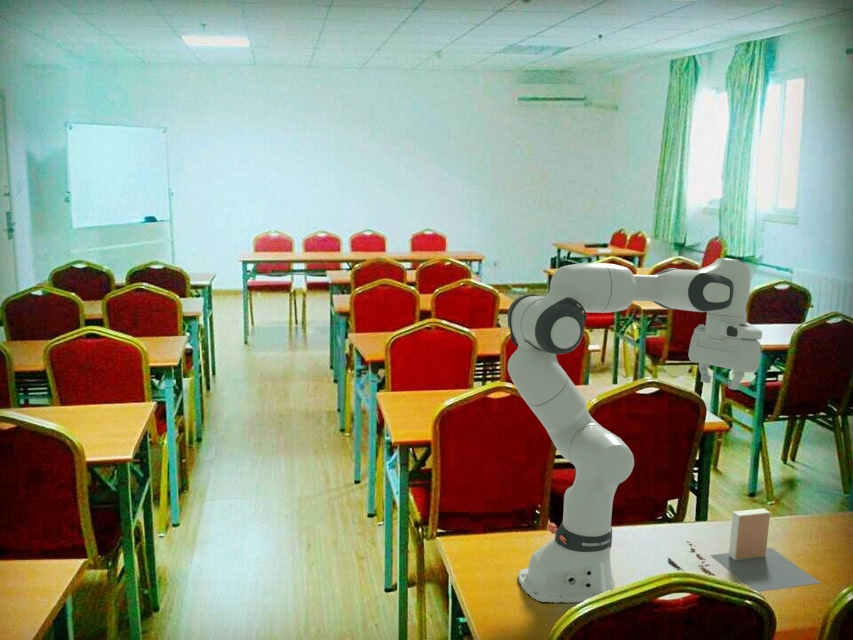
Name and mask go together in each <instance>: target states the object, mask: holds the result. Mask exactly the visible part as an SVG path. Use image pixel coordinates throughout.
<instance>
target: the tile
mask: <svg viewBox="0 0 853 640" xmlns="http://www.w3.org/2000/svg"><path fill="white" fill-rule="evenodd" d="M770 517H771V511H768V510H767V509H766V508H764V507H763V508H755V509H746V510H745V509H744V510H736V511H735V510H734V511H732V520H731V529H730V539H729V541H730V542H729V548H728V549H729V550H728V553H729V556H730V557H731V558H732V559H734V560H740V559H749V558H757V557H765V556H766V548H767V545H768V536H769V528H770V527H769V526H770V519H771V518H770Z"/></svg>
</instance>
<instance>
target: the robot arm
mask: <svg viewBox="0 0 853 640" xmlns="http://www.w3.org/2000/svg"><path fill="white" fill-rule="evenodd" d="M549 283H550V285H549V291H548V293H547V294H546V295H545V296H542V295H538V294H525V295H522V296H521V295H520V296H518V297H517V298H516V299H514V301H512V303H510V306H509V308H508V310H507V317H506V318H507V323H508V327H509V328H508V329H509V331H510V340H511V342H512V344H513V345H514V346H516V347H517V348H516V349H515V351H514V352H513V353H512V354H511V355H510V358H509V359H508V362H507V371H508V372H507V373H508V374H509V376H510V379H511V381H512V383H513V385H514V387H515V388H516V390H517V392H518V393H519V395H520V396H521V398H522V399H523V401H525V403H526V405H527V406H528V407H529V409H530V410H531V411H532V412H533V414H534V415H535V416H536V417H537V419H538V420H539V421H540V423H541V424H542V426H543V427H544V428H545V430H546V432H547V434H548V436H549V437H550V439H551V441H552V443H553V445H554V446H555V448H556V450H557V451H558V452H559V454H560V455H561V457H563V458H564V459H565V460H566V461H568V462H569V463H570V464H572V465H573V466H574V467H575V468H574V469H575V479H574V481H573V484H572V485H571V486H569V487H567V489H566V490H565V493H564V495H563V511H562V512H563V514H562V521H561V523H560V525H559V527H558V526H557V525H556V524H555V523H554V522H550V523H548V525H547V530H548V531H549V532H550V533H551V534H553V535H554V534H555V535H554V536H555V537H553V538H552V539H551V540H550V541H548V542H547V543H546V544H545V545H543V546H541V547H540V548H539V549H538V550H535V552H533V553H532V555H531V557H530V559H529V563H528V567H527V568H522V569H521V570H519V573H518V577H519V578H518V582H520V583H519V585H520V584H521V585H520V586H521V588H522V590H523V591H524V590H525V591H524V592H525V593H526V594H527V595H528V594H529V595H530V596H531V597H530V596H529V595H528V596H529V597H530V598H531V599H533V598H534V599H533V600H535V599H536V600H535V601H537V600H538V601H537V602H539V601H541V602H550V603H549V604H552V603H551V602H554V603H555V604H557V603H558V602H559V603H560V602H561V603H562V602H564V603H583V602H582V601H584V600H586V599H588V598H591V597H593V596H595V595H598V594H600V593H603V592H605V591H608V590H610V589H612V590H613V589H614V587H615V581H614V577H613V572H612V564H611V563H612V562H611V548H612V543H613V542H612V541H613V528H612V526H611V525H612V513H613V502H614V497H615V495H616V491H617V488H618V487H619V485H620V484H622V483H623V482H625V481H626V480H627V479H628V478H629V476H630V475H631V474H632V472H633V469H634V467H635V458H634V454H633V452H632V451H631V449H630V448H629V446H628V445H627V444H626V443H625V442H624V441H623V440H622V438H621V437H619V436H617V435H616V434H614V433H613V432H611V431H609V430H608V429H606V428H604V427H603V426H602V425H601V424H599V422H597V421H596V420H595V419H594V417H592V416H591V414H590V412H589V411H588V408H587V406H586V404H587V403H586V399H585V397H584V396H583V395H582V393H581V392H580V390H579V389H578V388H577V386H576V385H575V384H574V382H573V381H572V380H571V378H570V377H569V376H568V374H567V372H566V371H565V370H564V369H563V367H562V365H560V363H559V361H558V358H557V355H564V354H569V353H571V352H573V351H574V350H576V349H577V348H578V346H579V345H580V343H581V341H582V340H583V337H584V332H585V323H586V321H587V316H588V315H587V313H596V314H598V313H599V314H600V313H601V314H605V313H614V312H621V311H625V310H627V309H629V307H630V306H631V305H632V304H633V302H653V303H654V304H656V305H658V306H659V307H661V308H663V309H666V310H680V311H681V310H682V311H686V312H687V311H689V312H697V313H706V320H705V325H704V324H703V323H702V324H698V325H697V326H696V327H695V328H694V329H693V333H692V336H691V339H690V343H689V349H688V354H687V355H688V358H689V361H691V362H695V363H698V369H699V373H700V382H701V383H706V384H710V383H711V379H712V375H710V374H709V368H710V366H715V367H719V368H723V369H729V370H733V371H732V375H733V377H732V379H731V380H729V381H728V385H727V387H728V389H729V390H735V391H738V390H739V389H740V383H741V382H742V380H743V378H744V377H745V373H752V374H754V373H756V372H757V371H758V370H759V368H760V363H761V354H762V353H761V351H762V348H761V343H760V341H759V340H762V337H763V331H762V330H761V329H759V328H758V327H756V326H754V325H752V324H751V323H749V322H747V319H748V315H747V304H748V302H749V299H750V291H751V272H750V268H749V264H747V263H746V262H744V261H741V260H739V259H735V258H734V259H733V258H729V257H719V258H716V260H714V262H712V263H711V264H709V265H706V266H705V267H702V268H698V269H697V270H695V269H682V268H677V267H676V268H675V267H670V268H665V269H663V270H661V271H659V272H657V273H654V274H634V273H633V272H632V270H631V269H629V268H628V266H627V267H626V266H623V265H619V264H614V263H607V262H584V263H583V262H582V263H581V262H580V263H575V264H573V263H572V264H568V265H564V266H561V267H559V268H557V269H556V270H555V271H554V273H553V274H552V276H551V280H550V282H549ZM541 602H540V603H541ZM554 603H553V604H554Z"/></svg>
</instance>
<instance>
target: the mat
mask: <svg viewBox="0 0 853 640" xmlns="http://www.w3.org/2000/svg"><path fill="white" fill-rule="evenodd" d="M710 556H711V558H713V560H716V562H717V563H719V564H720V565H721V566H723V567H724V568H725V569H726V570H728V571H729V572H730V573H731V574H733V575H734V576H735V577H736V578H738V580H740V581H741V582H743V583H744V584H745V585H746V586H748V587H749V588H750V589H751V588H753V589H754V590H756V591H758V592H765V591H766V592H767V591H773V590H779V589H786V588H787V589H789V588H795V587H802V586H809V585H817V584H821V583H822V582H821V581H820V580H817V579H816V577H814V576H812V575H811V574H809V573H808V572H806V571H805V570H804V569H803V568H800V567H799V566H798V565H796V564H795V563H794V562H792V561H791V560H789V559H788V558H786V557H785V556H783V555H782V554H781V553H780V552H778V551H777V550H775V548H772V547H768V548H767V547H766V556H765V557H757V558H749V559H740V560H734V559H732V558H731V557H730V556H729V552H726V553H717V554H710ZM750 586H751V587H750ZM753 589H752V590H753ZM754 590H753V591H754ZM758 592H757V593H758Z"/></svg>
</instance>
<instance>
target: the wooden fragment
mask: <svg viewBox="0 0 853 640" xmlns="http://www.w3.org/2000/svg"><path fill="white" fill-rule="evenodd" d="M686 543H688V546H689V547H690V551H689V552H690V553H693V554H695V555H696V558H697V559H699V561H700V560H701V564H702V565H701V564H699V565H698V566H697V567H698V568H699V570H700V571H701V572H703V573H704V575H707V576H713V577H714V576H715V577H716V574H715V573H712V572H711V571H710V570H708V569H707V568H705V567H708V566H710V564H704V563H706V561H705V560H706V558H704V557H703V556H701V555H702V554H700V553H696V548H697V545H693V543H690V541H686ZM693 546H694V547H696V548H692V547H693ZM667 559H668V562H669V563H670V564H672V565H673V566H675V567H677V568H678V569H680V570H682V571H683V572H684V571H685V570H684V569H683V568H682V567H680V565H678V564H677V563H676V562H675V561H673V560H672V559H671V558H670V557H669V556H668V558H667Z"/></svg>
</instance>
